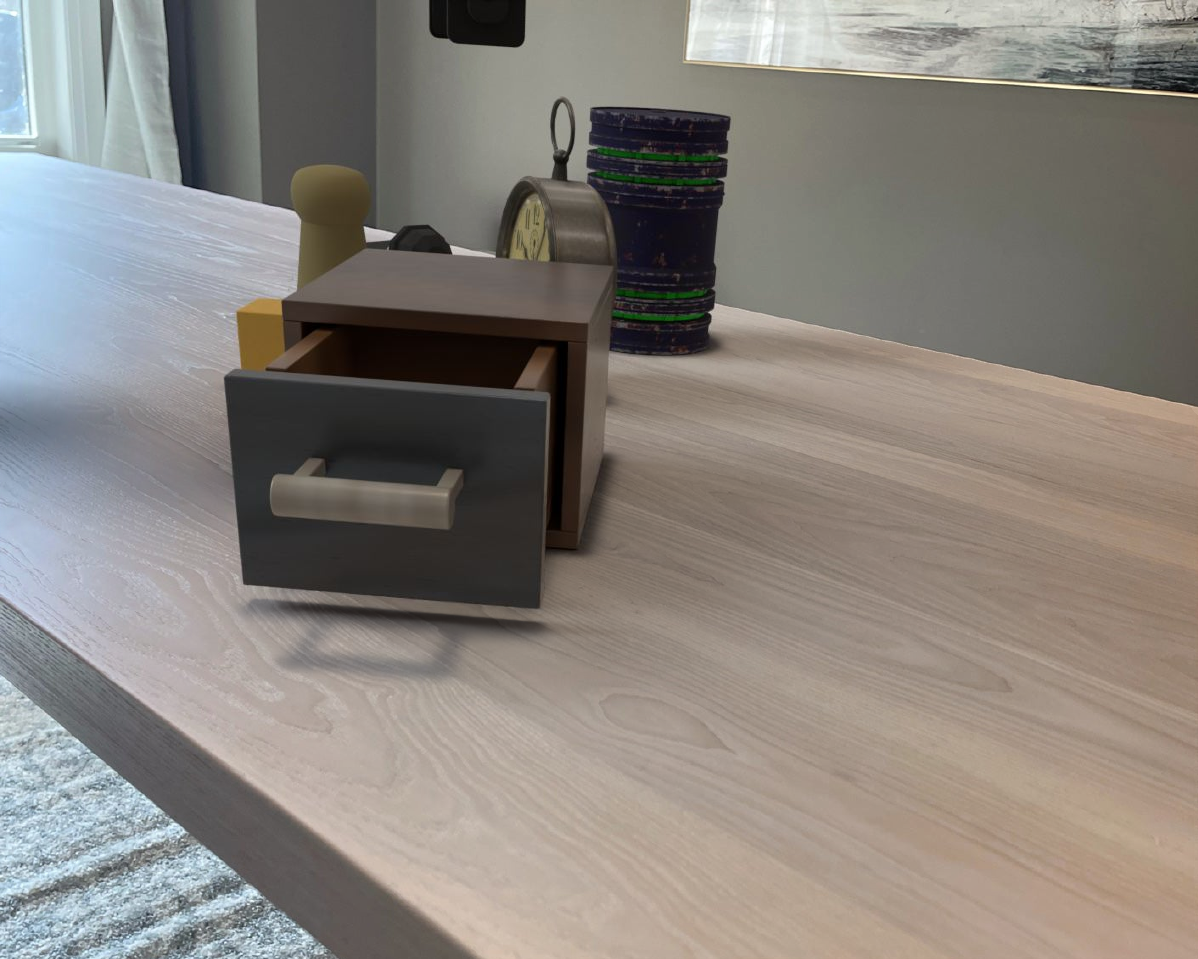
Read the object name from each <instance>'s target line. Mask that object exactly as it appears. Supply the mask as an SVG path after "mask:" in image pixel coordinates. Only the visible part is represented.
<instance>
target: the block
mask: <svg viewBox="0 0 1198 959" xmlns="http://www.w3.org/2000/svg"><path fill="white" fill-rule="evenodd" d="M283 299H284V298H283ZM283 299H282V298H267V297H258V298H256V299H254V300H253V301H251V302H249V303H248V304H246V305H244V306H243V307H241V308H239V309H237V310H236V311H235V314H236V315H235V316H236V325H237V326H236V328H237V338H238V349H239V359H240V360H239V361H240V369H247V370H260V371H265V367H266V366H267V365H269V364H270V363H271V362H273V361H274V360H276V359H277V358H278V357H280V356H281V355H282V354H284V353H285V350H284V335H283V319H282V306H281V300H283Z"/></svg>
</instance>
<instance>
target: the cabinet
mask: <svg viewBox="0 0 1198 959" xmlns="http://www.w3.org/2000/svg"><path fill="white" fill-rule="evenodd" d="M452 254H453V253H452ZM452 254H438V253H424V252H410V251H396V250H382V249H368V248H366V249H364V250H362V251H361V252H359V253H357V254H356V255H354V256H353V257H351V258H349V259H348V260H346V261H344V262H343V263H341V264H340V265H338V266H336V267H335V268H333V269H331V270H330V271H328V272H327V273H325V274H323V275H322V276H320V277H318V278H317V279H315V280H314V281H312V282H310V283H309V284H307V285H305V286H304V287H302V288H301V289H299V290H297V289H296V290H295V291H294V292H293V293H291V294H289V295H287V296H286V297H284V298H283V300H281V306H282V319H283V335H284V350H285V352H286V351H288V350H289V349H290V348H292V347H293V346H294V345H296V344H297V343H298V342H300V341H301V340H303V339H304V338H305V337H307V336H308V335H309V334H311V333H312V332H313V331H315V330H316V329H317V328H319V327H320V326H321V325H323V324H324V323H327V324H341V325H354V326H367V327H381V328H394V329H408V330H421V331H435V332H448V333H462V334H475V335H488V336H502V337H515V338H529V339H542V340H556V341H566V345H565V370H564V395H563V420H562V445H561V470H560V491H559V494H558V497H557V499H556V502H555V505H554V508H553V511H552V514H551V517H550V520H549V522H548V525H547V528H546V536H545V548H554V549H557V548H558V549H567V550H578V548H579V545H580V541H581V538H582V534H583V530H584V527H585V524H586V519H587V516H588V513H589V510H590V506H591V501H592V497H593V494H594V491H595V486H596V484H597V479H598V476H599V472H600V469H601V465H602V461H603V458H604V448H605V443H604V442H605V434H606V433H605V432H606V413H607V398H608V397H607V395H608V379H609V359H610V350H609V345H610V327H611V310H612V292H613V274H614V267H613V266H605V265H591V264H577V263H563V262H549V261H535V260H521V259H508V258H496V257H492V256H479V255H477V256H476V255H467V254H466V255H465V254H453V255H452Z"/></svg>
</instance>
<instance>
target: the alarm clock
mask: <svg viewBox="0 0 1198 959" xmlns="http://www.w3.org/2000/svg"><path fill="white" fill-rule="evenodd" d="M562 103H563V104H564V106H565V107H566V110H567V112H568V118H569V125H570V135H569V136H570V137H569V142H568V146H567V149H566V150H565V149H561V148H560V149H559V147H558V142H557V137H556V118H557V113H558V110H559V107H560V105H561V104H562ZM549 128H550V140H551V145H552V148H553V151H554V152H553V154H552V160H553V162H554V163H553V168H552V172H551V177H550V178H549V177H537V176H532V175H525V176H523V177H521V178H520V179H519V180H518V181H517V182H516V183H515V184H514V186H513V187H512V189H511V190H510V192H509V195H508V197H507V198H506V201H505V205H504V207H503V211H502V215H501V219H500V225H499V228H498V234H497V241H496V248H495V258H508V259H521V260H535V261H549V262H563V263H577V264H591V265H605V266H613V267H614V274H613V292H612V310H611V320H612V315H613V310H614V304H615V297H616V292H617V251H616V241H615V234H614V229H613V224H612V220H611V217H610V214H609V211H608V209H607V206H606V204H605V202H604V200H603V199H602V197H601V196H600V194H599V193H598V192H597V191H596V190H595V189H594V188H593V187H592V186H591V185H589V184H587V182H585V181H582V180H571V179H569V178H568V163H569V161H570V156H571V154H572V152H573V149H574V145H575V140H576V117H575V111H574V108H573V105H572V103H571V102H570V100H569V99H568V98H567V97H566V96H563V95H561V96H559V97H557V98H556V99H555V100H554V101H553V105H552V108H551V112H550V120H549Z"/></svg>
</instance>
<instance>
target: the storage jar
mask: <svg viewBox="0 0 1198 959" xmlns="http://www.w3.org/2000/svg"><path fill="white" fill-rule="evenodd" d="M731 120H732V117H731V115H726V114H720V113H713V112H705V111H697V110H696V111H695V110H683V109H674V108H673V109H671V108H659V107H657V108H655V107H638V106H637V107H636V106H592V107H590V108H589V122H590V123H591V129H590V131H589V132H588V145H589V146H592V147H594V148H591V149H588V150H586V154H587V155H586V163H585V164H586V165H585V166H586V169H588V170H591V171H590V172H587V174H586V183H587V184H589V185H591V186H592V187H593V188H594V189H595V190H596V191H597V192H598V193H599V194H600V196H601V197H602V199H603V200H604V202H605V204H606V206H607V209H608V211H609V214H610V217H611V220H612V224H613V229H614V234H615V241H616V251H617V292H616V297H615V304H614V310H613V315H612V320H611V327H610V345H609V351H613V352H614V351H615V352H621V353H628V354H639V355H653V356H654V355H655V356H660V355H661V356H664V355H665V356H667V355H668V356H671V355H672V356H673V355H686V354H693V353H698V352H701V351H704V350H706V349H708V348H709V347H710V341H711V336H710V333H709V330H710V329H709V327H710V325H711V323H712V319H713V316H712V314H711V313H710V312H712V311H714V309H715V303H716V290H715V289H713V288H714V287H715V286H716V277H717V265H716V263H715V256H716V243H717V234H718V233H717V232H718V224H719V210H720V209H721V207H722V206H723V205H724V196H725V195H726V192H725V181H723V180H720V179H724V178H727V176H728V168H729V166H728V165H729V159H728V158H725V157H723V156H722V155H727V154H728V153H729V152H728V151H729V140H728V132H729V131H730V130H731V123H732V122H731ZM595 147H596V148H595Z"/></svg>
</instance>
